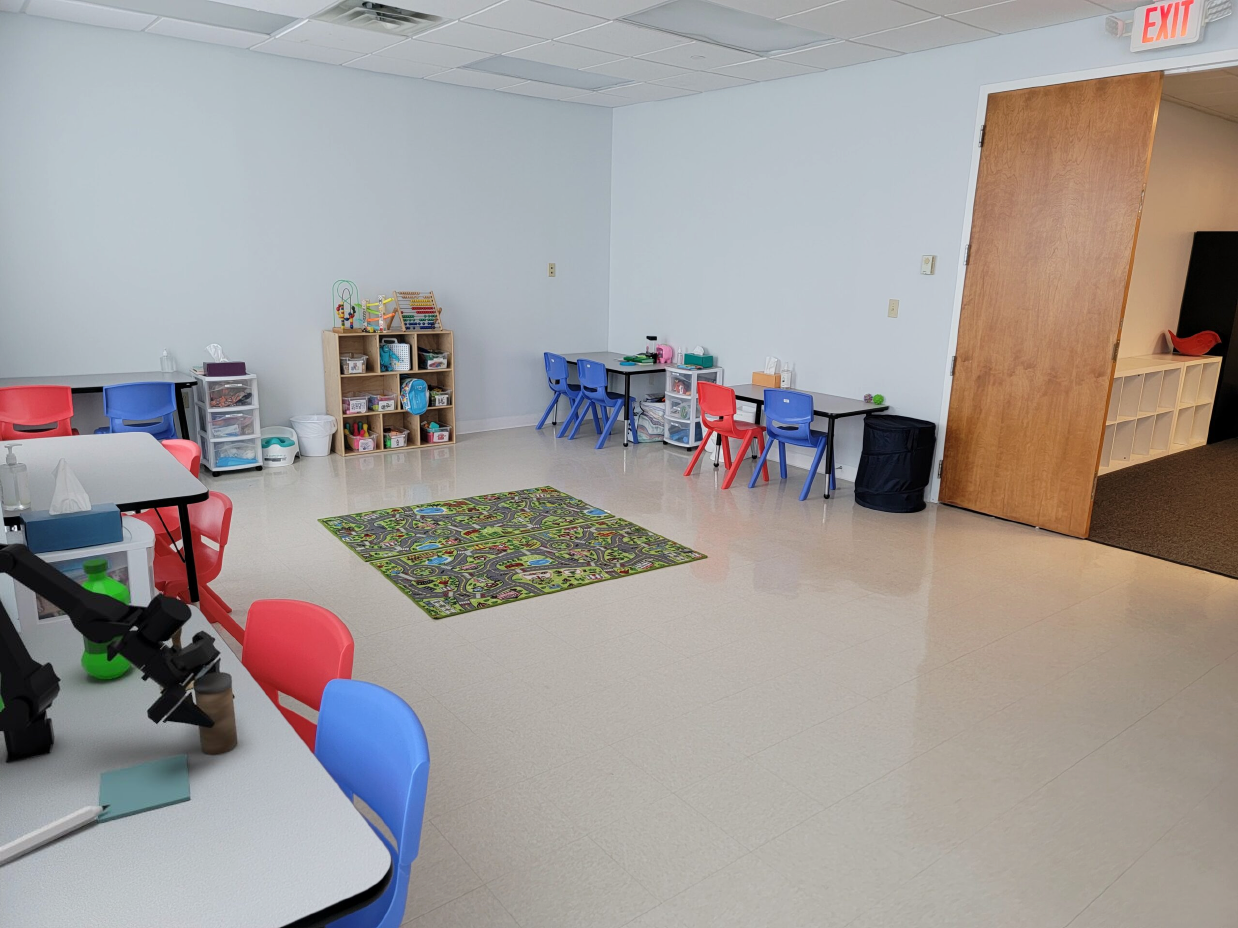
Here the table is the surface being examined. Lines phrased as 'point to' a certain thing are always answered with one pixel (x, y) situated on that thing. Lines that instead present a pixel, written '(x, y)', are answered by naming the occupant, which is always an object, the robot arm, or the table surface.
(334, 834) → the table surface
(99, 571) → the plastic bottle
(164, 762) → the mat
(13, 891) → the table surface
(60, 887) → the table surface
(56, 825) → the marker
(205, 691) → the brown upright cylinder
